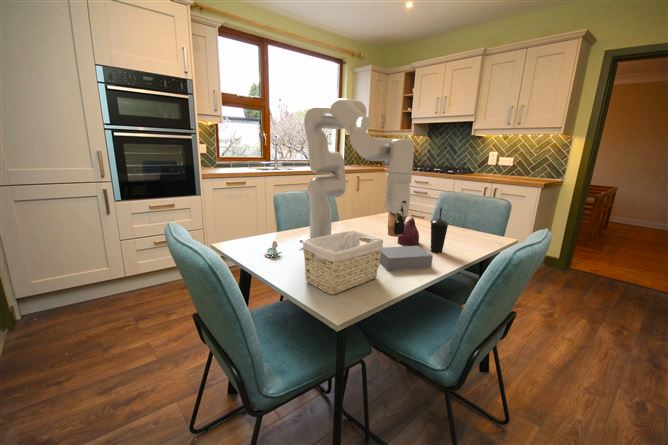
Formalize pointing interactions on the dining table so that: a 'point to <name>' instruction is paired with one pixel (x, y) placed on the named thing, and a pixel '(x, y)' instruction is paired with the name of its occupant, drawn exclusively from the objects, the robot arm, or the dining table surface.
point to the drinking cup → (438, 234)
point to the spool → (392, 225)
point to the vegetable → (409, 234)
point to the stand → (405, 258)
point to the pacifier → (272, 250)
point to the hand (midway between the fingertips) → (395, 231)
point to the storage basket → (341, 260)
